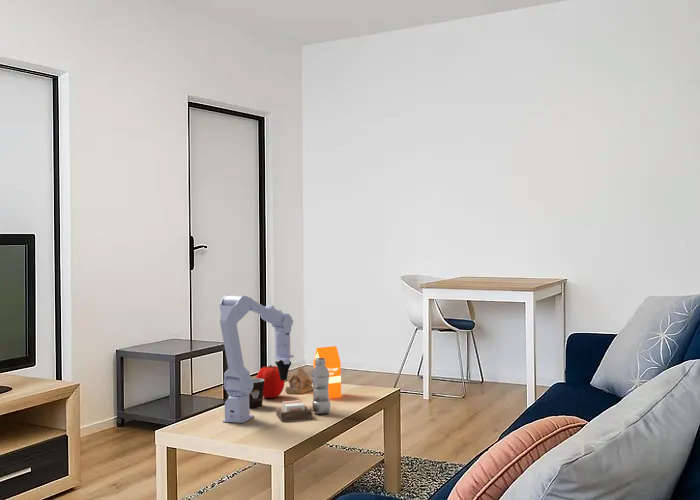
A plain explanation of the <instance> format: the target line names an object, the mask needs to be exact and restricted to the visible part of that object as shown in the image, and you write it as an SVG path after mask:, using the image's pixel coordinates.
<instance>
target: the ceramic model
mask: <svg viewBox="0 0 700 500" xmlns="http://www.w3.org/2000/svg"><path fill="white" fill-rule="evenodd" d="M287 382H288V384H289V386H286V387H284V388H285V389H284V391H285V393H286V394H287V395H298V394H299V395H301V394H304V393H307V392H311V391H313V389H314V388H313V381H312V378H311V377H310V376H309V374H308V373H306V371H305V370H304V369H303V368H302V367H301V366H298V367H297V369H296V370H295V371H294V372H293V374H292V375H291V376H290V377H289V379H288V381H287Z"/></svg>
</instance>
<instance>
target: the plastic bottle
mask: <svg viewBox="0 0 700 500" xmlns="http://www.w3.org/2000/svg"><path fill="white" fill-rule="evenodd" d="M315 364H316V366H315V367H314V366H313V369H312V370H311V380H312V381H313V383H312V387H313V388H314V389H313V390H312V391H313V394H312V395H313V397H312V398H313V399H312V405H311V407H312V412H313V413H314V414H317V415H325V414H329V412H331V402H330V398H329V393H328V383H329V370H328V369H327V367H326V366H325V364H326V362H325V358H316V359H315Z"/></svg>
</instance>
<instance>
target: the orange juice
mask: <svg viewBox="0 0 700 500" xmlns="http://www.w3.org/2000/svg"><path fill="white" fill-rule="evenodd" d="M316 358H325V362H326V364H325V366H326V367H327V369H328V370H329V383H328V393H329V399H338V398H342V373H341V371H342V370H341V369H342V368H341V365H342V363H341V359H340V354H339V352H338V348H337V346H336V345H334V346H333V345H332V346H322V347H316V351H315V354H314V357H313V360H312V363H313V366H312V367H313V368H314V367H315V366H316V364H315V359H316Z"/></svg>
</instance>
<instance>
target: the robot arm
mask: <svg viewBox="0 0 700 500" xmlns="http://www.w3.org/2000/svg"><path fill="white" fill-rule="evenodd" d="M219 311H220V317H219V318H220V319H219V324H220V325H219V326H220V328H221V329H220V330H221V335H222V340H223V345H224V352H225V357H226V363H227V370H226V371H225V372H224V374H223V376H224V377H223V378H224V379H223V388H224V390H225V391H226V394H227V395H228V398H227V399H226V400H225V403H224V419H223V420H222V422H223V423H224V422H225V423H238V424H239V423H240V424H243V423H246V422H247V421H249V420H251V419H252V418H254V417H255V415H254V414H250V409H249V394H250V392H251V391H252V389H253V386H254V382H253V379H252V378H253V377H252V376H251V373H250V371H249V370H248V369H247V367H245V365H244V360H243V353H242V349H241V343H240V342H241V341H240V337H239V336H240V335H239V330H238V329H239V328H238V325H237V324H238V323H239V322H240V321H241V320H242V319H243V318H245V316H246V315H247V314H248V313H249V312H250V311H251V312H253V313H254V314H255V313H256V314H257V315H259V316H260V318H261V319H262V320H263V321H264V322H266V323H268V324H271V326H272V327H273V328H274V341H275V342H274V343H275V345H274V347H275V348H274V350H275V352H274V353H275V356H274V359H275V360H278V361H274V363H275V365H276V367H277V368H278V371H279V376H280V379H281V381H282V380H284V381H287V380H288V374H289V371H290V367H291V365H292V362H291V359H292V358H294V357H295V356H294V354H291V331H292V327H293V325H294V319H293V317H292V316H291V314H289V313H285V312H283V311H282V310H281V309H276V308H275V306H274V305H272V304H271V305H266V306H265V305H263V304H261V303H260V302H257V301H256V300H254V299H253V298H252V297H249V296H247V295H230V294H226V295H224V296H223V297H222V299H221V301H220V302H219Z"/></svg>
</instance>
